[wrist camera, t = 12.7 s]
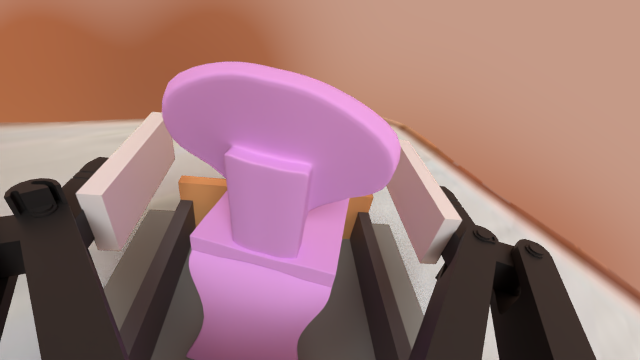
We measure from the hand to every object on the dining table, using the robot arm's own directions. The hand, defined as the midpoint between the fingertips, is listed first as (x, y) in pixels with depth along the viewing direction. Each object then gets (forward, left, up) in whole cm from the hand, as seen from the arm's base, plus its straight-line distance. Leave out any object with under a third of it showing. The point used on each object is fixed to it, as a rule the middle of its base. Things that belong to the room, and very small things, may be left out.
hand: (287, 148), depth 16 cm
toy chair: (0, -4, -9) cm, 10 cm away
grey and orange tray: (0, -3, -10) cm, 10 cm away
